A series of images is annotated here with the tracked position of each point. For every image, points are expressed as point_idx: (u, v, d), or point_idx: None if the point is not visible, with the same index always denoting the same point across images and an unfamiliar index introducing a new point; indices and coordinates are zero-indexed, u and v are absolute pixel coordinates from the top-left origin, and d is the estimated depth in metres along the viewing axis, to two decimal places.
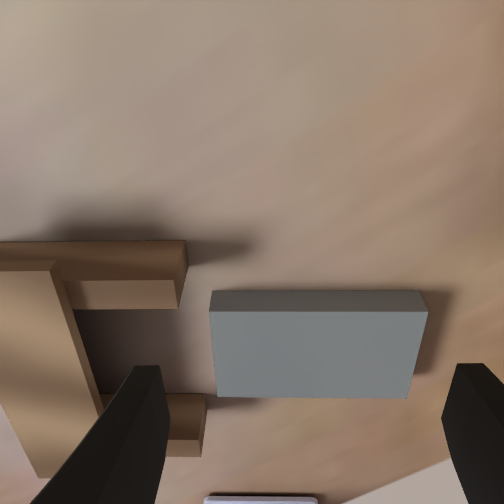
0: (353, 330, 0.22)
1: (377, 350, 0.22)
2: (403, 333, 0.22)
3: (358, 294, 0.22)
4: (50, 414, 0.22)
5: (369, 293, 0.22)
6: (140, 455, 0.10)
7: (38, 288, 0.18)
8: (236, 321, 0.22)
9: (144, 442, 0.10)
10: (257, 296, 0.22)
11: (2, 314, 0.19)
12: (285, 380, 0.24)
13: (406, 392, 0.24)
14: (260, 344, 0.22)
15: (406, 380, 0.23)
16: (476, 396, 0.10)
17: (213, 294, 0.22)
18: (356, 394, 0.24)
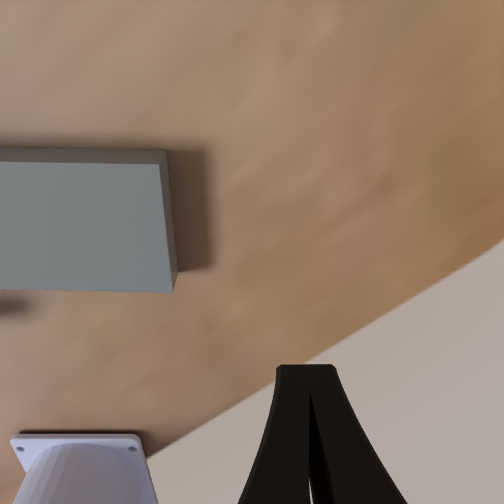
0: (77, 192, 0.18)
1: (115, 221, 0.18)
2: (138, 196, 0.18)
3: (90, 150, 0.18)
4: None
5: (104, 150, 0.18)
6: None
7: None
8: None
9: None
10: None
11: None
12: (20, 264, 0.20)
13: (169, 284, 0.20)
14: None
15: (163, 266, 0.20)
16: (310, 397, 0.10)
17: None
18: (111, 286, 0.20)
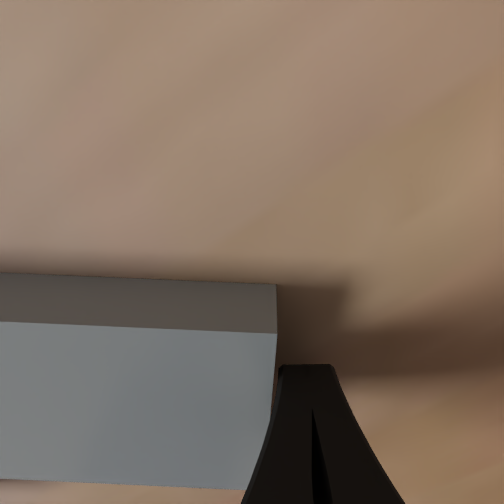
0: (127, 366, 0.10)
1: (187, 405, 0.11)
2: (232, 376, 0.10)
3: (148, 290, 0.11)
4: None
5: (172, 289, 0.11)
6: None
7: None
8: None
9: None
10: None
11: None
12: (24, 452, 0.12)
13: None
14: None
15: (256, 461, 0.12)
16: None
17: None
18: (167, 480, 0.13)
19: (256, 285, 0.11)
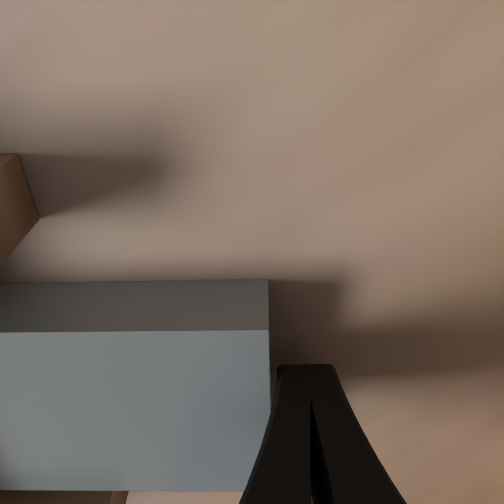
0: (122, 371, 0.10)
1: (186, 407, 0.11)
2: (227, 375, 0.10)
3: (139, 293, 0.11)
4: None
5: (163, 291, 0.11)
6: None
7: None
8: None
9: None
10: None
11: None
12: (30, 462, 0.12)
13: None
14: None
15: None
16: (309, 397, 0.10)
17: None
18: (174, 485, 0.13)
19: (248, 283, 0.11)
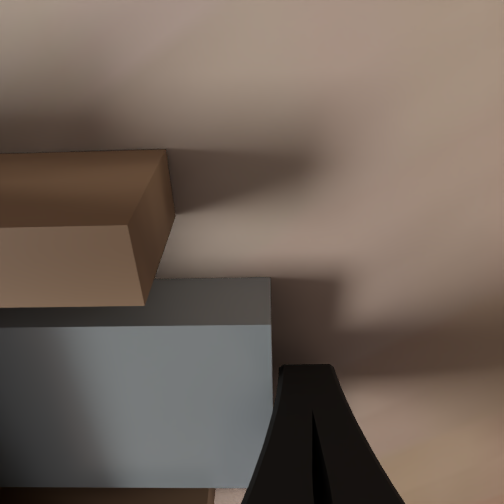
0: (125, 366, 0.10)
1: (188, 403, 0.11)
2: (230, 370, 0.10)
3: None
4: None
5: (166, 287, 0.11)
6: None
7: None
8: None
9: None
10: None
11: None
12: (33, 459, 0.12)
13: None
14: None
15: None
16: None
17: None
18: (176, 482, 0.13)
19: (250, 278, 0.11)
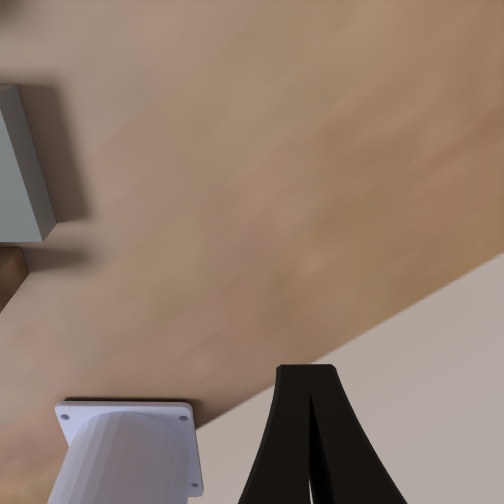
0: None
1: None
2: None
3: None
4: None
5: None
6: None
7: None
8: None
9: None
10: None
11: None
12: None
13: (36, 232, 0.19)
14: None
15: (26, 212, 0.18)
16: (310, 397, 0.10)
17: None
18: None
19: None
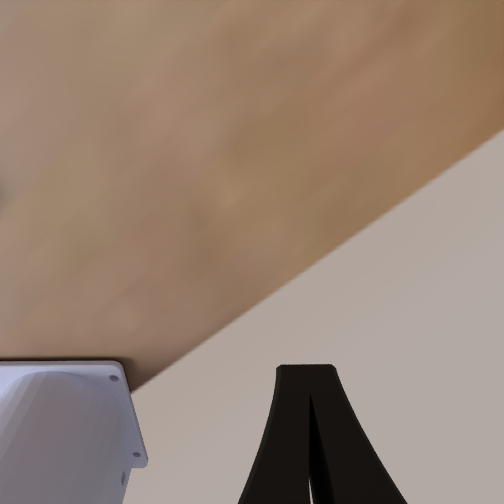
0: None
1: None
2: None
3: None
4: None
5: None
6: None
7: None
8: None
9: None
10: None
11: None
12: None
13: None
14: None
15: None
16: (310, 396, 0.10)
17: None
18: None
19: None
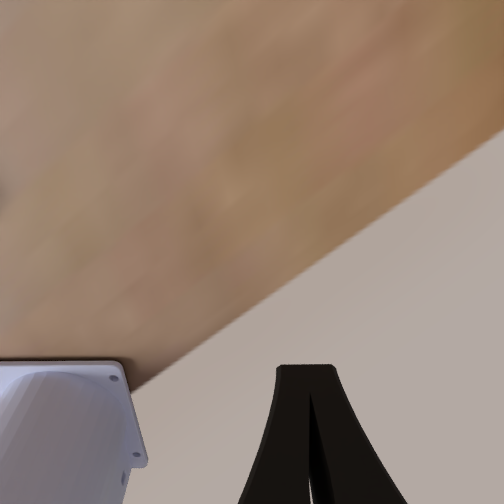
0: None
1: None
2: None
3: None
4: None
5: None
6: None
7: None
8: None
9: None
10: None
11: None
12: None
13: None
14: None
15: None
16: (310, 396, 0.10)
17: None
18: None
19: None
